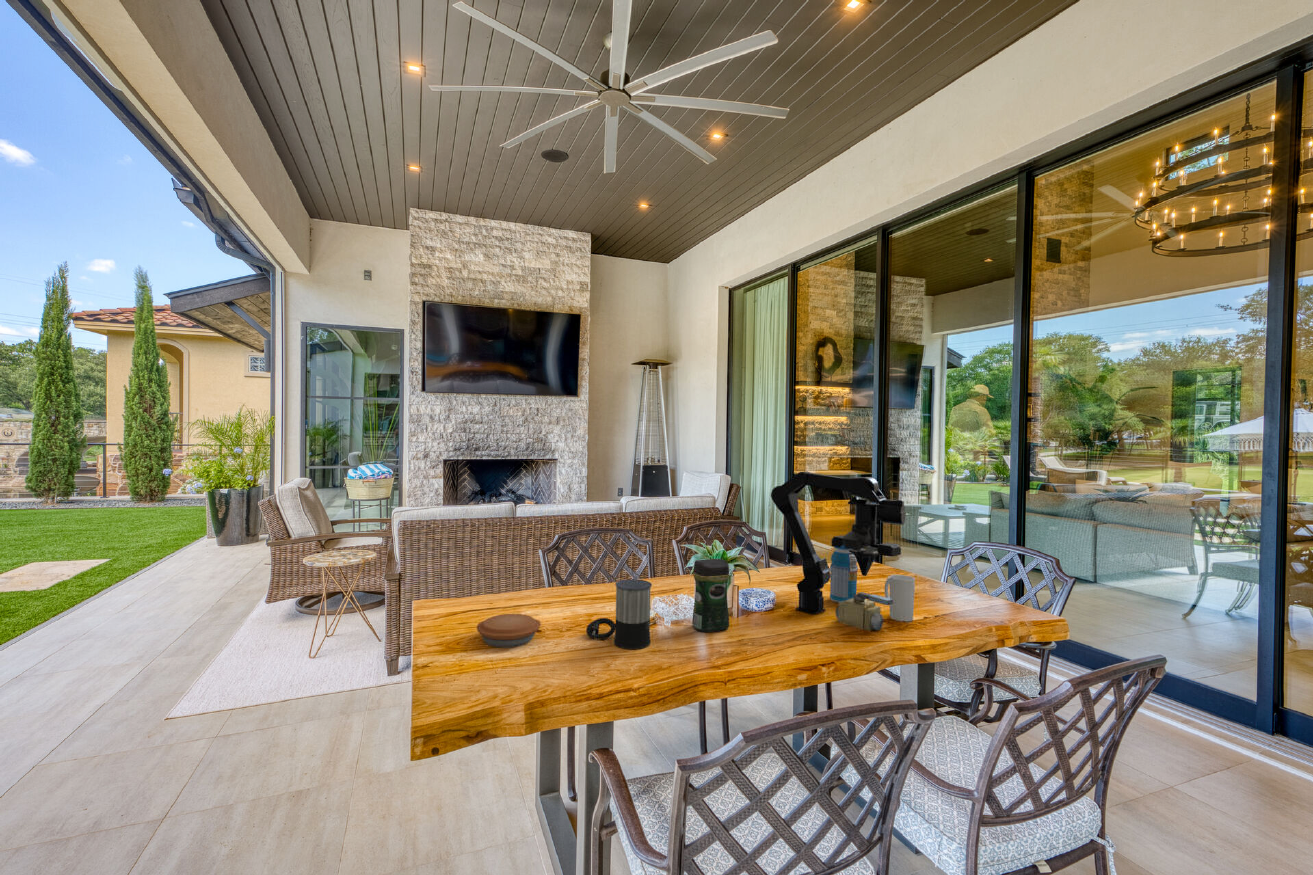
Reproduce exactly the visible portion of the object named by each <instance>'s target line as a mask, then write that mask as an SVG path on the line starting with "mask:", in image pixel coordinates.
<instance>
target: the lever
mask: <svg viewBox="0 0 1313 875" xmlns="http://www.w3.org/2000/svg"><path fill="white" fill-rule="evenodd" d="M853 600H854V601H857V602H865V601H866V600H868V601H872V602H875V603H877V604H880V605H884V606H890V605H891V604H893V599H890V598H886V597H885V596H883V595H882V596H881V595H878V594H872V593H871V594H870V593H867V592H863V591H861V592H857V593H856V595H854V598H853Z"/></svg>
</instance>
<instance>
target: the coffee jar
mask: <svg viewBox="0 0 1313 875" xmlns="http://www.w3.org/2000/svg"><path fill="white" fill-rule="evenodd" d="M692 575H693V578H694V581H695V582H694V583H695V589H694V590H695V591H694V603H693V611H692V620H691V621H692V622H691V623H692V626H693V627H694V629H696V630H697V631H701V632H704V633H711V632H719V631H725V630H728V628H729V627H730V618H729V617H730V616H729V608H728V607H729V605H728V581H729V579H730V566H729V562H728V561H727V560H725V559H723V558H708V559H698V560H697V559H696V560H694V563H693V571H692Z"/></svg>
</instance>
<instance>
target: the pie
mask: <svg viewBox="0 0 1313 875" xmlns="http://www.w3.org/2000/svg"><path fill="white" fill-rule="evenodd" d="M541 625H542V624H541V621H540V620H539V619H536V618H534V617H532V616H530V615H527V614H522V613H504V614H498V615H494V616H491V617H487V618H486V619H484V620H482V621H480V622H478V624H477V625H476V630H477V633H478V634H479V635H481V638H482V639H483V640H484V642H485V643H486V644H487V645H488V646H491V647H495V648H514V647H519V646H520V647H521V646H523V645H525V644H528V643H529V642H531V641H532V640H533V637H535V634H536V633H537V632H538V631H539V629H540V628H541Z"/></svg>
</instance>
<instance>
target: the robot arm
mask: <svg viewBox="0 0 1313 875" xmlns="http://www.w3.org/2000/svg"><path fill="white" fill-rule="evenodd" d="M807 486H812V487H817V488H825V489H830V490H836V491H842V492H845V493H847V494H848V495H853V497H852V499H850V500H849V501H848V502H847V504H848V505H852V506H853V505H854V507H855V509H854V512H855V513H854V514H855V515H854V523H853V524H852V526H851V531H849V532H847V533H846V534H845V535H836V536H833V537H832V539H831V542H830V544H831V547H833V548H834V547H839V548H840V547H842V546H843V545H844V547H845V548H846V549H848V548H849V549H850V550H849V552H851V553H852V554H853V555H854V556H855V557H856V559H857V564H858V565H857V566H858V569H859V571H860V573H861V575H862V576H863V577H866V576H868V573H869V571H870V569H871V568H872V565H873V564H874V561H876V558H877V556H883V557H884V556H885V557H889V558H891V557H895V556H897V557H898V556H901V555H902V548H901V546H900V544H897V543H891V542H885V543H884V542H883V543H879V539H877V530H878V529H879V524H877V519H878V520H879V521H881V523H882V524H890V525H891V524H892V525H900V526H901V525H902V526H904V525H905V523H906V516H907V511H906V508H905V501H904V499H887V498H886V497H885V496H884V493H883V492H882V491H881V489H880V485H879V482H878V481H877V480H876V479H875V478H874V477H872V476H865V477H864V476H863V477H862V476H861V477H860V476H858V477H857V476H856V477H844V476H843V477H842V476H836V475H828V474H821V473H816V472H810V471H799V472H798V473H797V474H795V475H794V476H793V477H791V478H790V479H788V480H787V481H785V482H784V483H782V484H781V485H777V486H775V487H773V488H772V490H771V493H770V497H771V500H772V502H773V503H774V505H775V507H776V508H777V509H778V510H779V512H780V513H781V514H782V515H783V516H784V518H785V521H786V523H787V526H788V527H789V528H788V529H789V531H790V532H791V533H790V534H791V535H792V538H793V540H794V542H795V545H796V548H797V550H798V552H799V555H800V557H801V562H802V563H801V564H802V573H803V579H801V580H800V581H799V582H798V583H796V588H797V591H798V606H796V607H795V610H797V611H799V612H804V613H807V614H809V615H810V614H811V615H816V614H820V613H822V612H825V611H826V609H825V608H824V602H825V601H824V599H825V597H824V595H823V593H824V592H823V591H822V590H823V588H824V586H825V585H826V584H827V583H828V582H829V581H830V580H831V569H830V567H829V566H830V565H829V564H828V561H827V559H826V557H824V558H821V557H820V556H819V555H818V554H817V552H816V550H815V547H814V545H813V542H812V540H811V537H810V535H809V532H808V530H807V529H806V526H805V523H804V520H803V517H802V516H801V513H800V512H799V499H798V498H799V497H798V494H799V493H801V491H803V489H805V488H806V487H807ZM878 543H879V544H878Z"/></svg>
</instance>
